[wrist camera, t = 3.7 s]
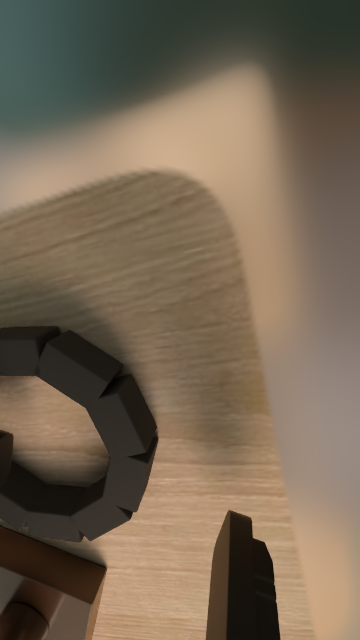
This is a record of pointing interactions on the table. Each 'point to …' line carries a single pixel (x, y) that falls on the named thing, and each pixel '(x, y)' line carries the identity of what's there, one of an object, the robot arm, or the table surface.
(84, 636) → the brown upright dowel
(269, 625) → the robot arm
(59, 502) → the ring
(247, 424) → the table surface
